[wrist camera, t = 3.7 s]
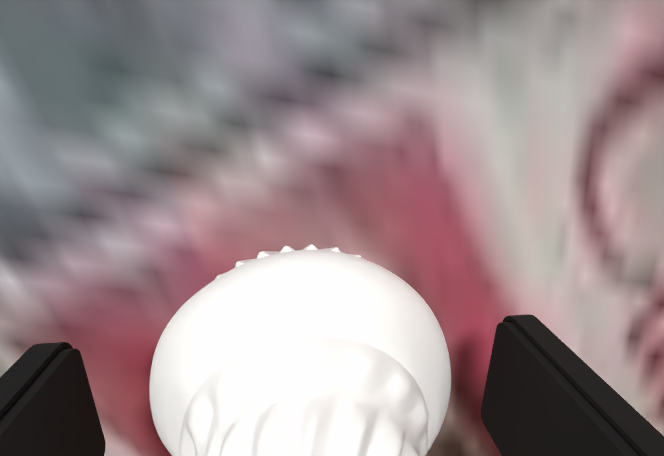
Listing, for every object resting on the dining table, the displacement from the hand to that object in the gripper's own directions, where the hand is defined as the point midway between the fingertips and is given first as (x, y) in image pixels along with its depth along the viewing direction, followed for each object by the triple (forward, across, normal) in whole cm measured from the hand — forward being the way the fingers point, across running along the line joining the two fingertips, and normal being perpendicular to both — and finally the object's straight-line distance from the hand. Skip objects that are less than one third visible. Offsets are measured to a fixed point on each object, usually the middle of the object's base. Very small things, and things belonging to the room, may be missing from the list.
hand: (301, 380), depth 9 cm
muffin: (+3, 0, 0) cm, 3 cm away
